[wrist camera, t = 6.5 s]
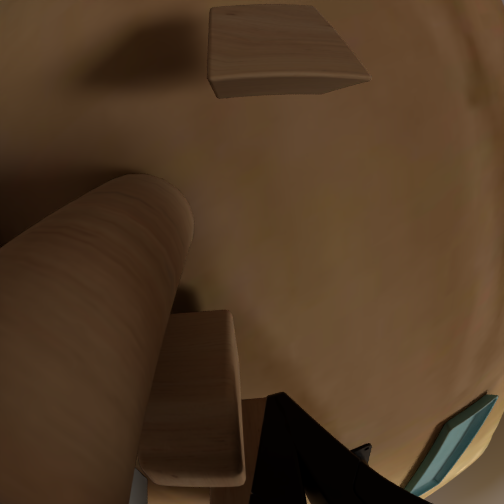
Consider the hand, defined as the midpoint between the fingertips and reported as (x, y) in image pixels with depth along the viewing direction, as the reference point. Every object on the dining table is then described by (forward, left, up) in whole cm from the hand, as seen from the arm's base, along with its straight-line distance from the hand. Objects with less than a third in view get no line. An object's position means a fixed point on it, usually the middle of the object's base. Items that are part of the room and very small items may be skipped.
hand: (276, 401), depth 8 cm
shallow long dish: (-36, -21, -6) cm, 42 cm away
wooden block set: (+3, +1, -5) cm, 6 cm away
